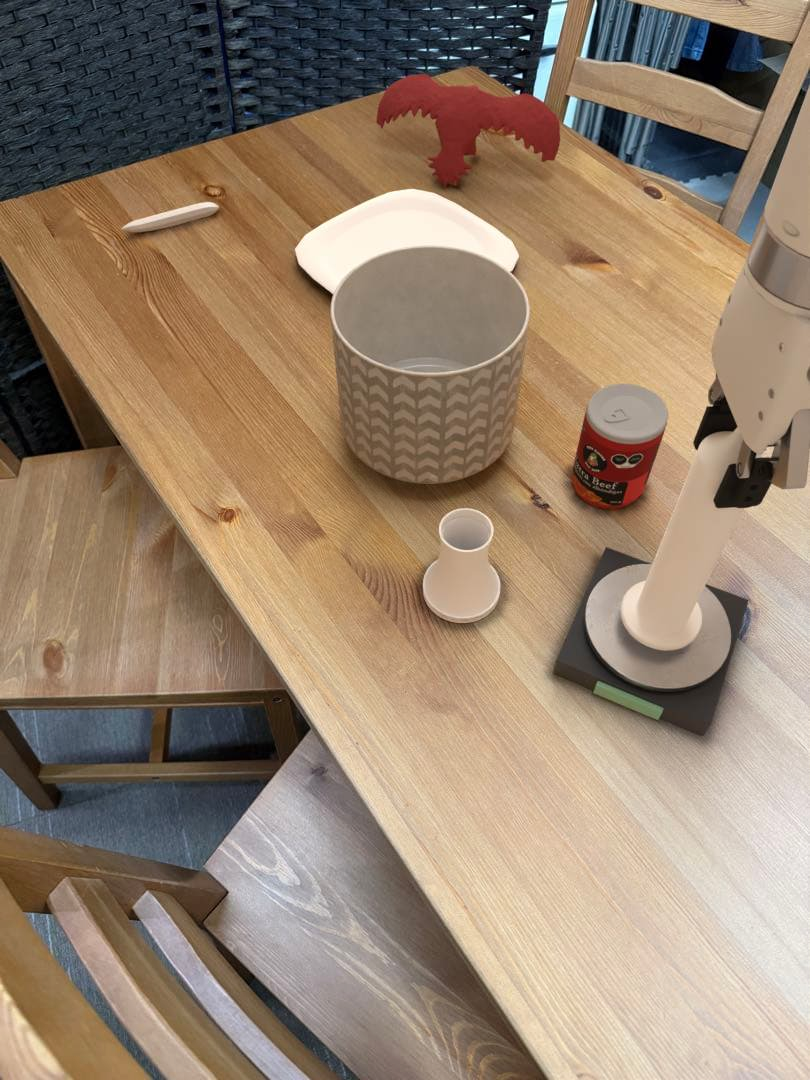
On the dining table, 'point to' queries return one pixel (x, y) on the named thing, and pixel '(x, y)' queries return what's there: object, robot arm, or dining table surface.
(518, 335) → the planter
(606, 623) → the scale
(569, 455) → the dining table surface
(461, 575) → the vase
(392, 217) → the plate
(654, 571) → the candle
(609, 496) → the canned food
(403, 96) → the decorative bird sculpture
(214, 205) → the pen
